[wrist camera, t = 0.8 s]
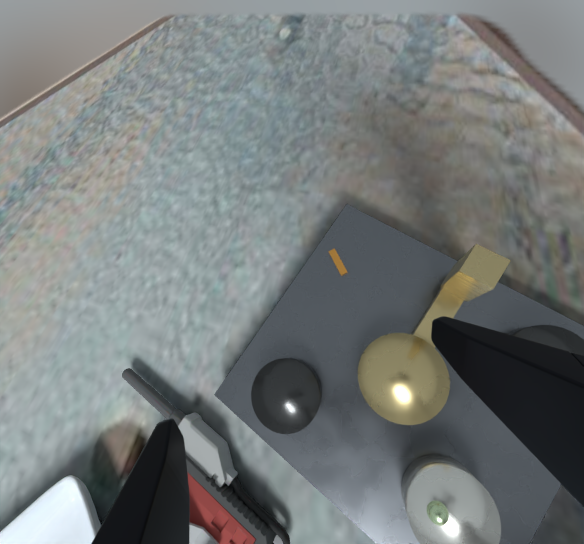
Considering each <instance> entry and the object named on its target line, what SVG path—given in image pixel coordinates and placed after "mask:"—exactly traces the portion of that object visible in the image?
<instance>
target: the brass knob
mask: <svg viewBox="0 0 584 544" xmlns="http://www.w3.org/2000/svg"><path fill="white" fill-rule="evenodd" d="M510 261H511V260H509V259H507V258H504V257H502V256H500V255H498V254H496V253H494V252H492V251H490V250H488V249H486V248H484V247H482V246H480V245H478V244H476V245H475V246H473V247H472V248H471V249H470V250H469V251H468V252H467V253H466V254H465V255H464V256H463V257H462V258H461V259H460V260H459V261H458V262H456V263H455V264H454V266H453V267H452V269H451V270H450V272H449V274H448V275H447V277H446V278H445V280H444V281H443V283H442V285H441V286H440V287H441V288H440V290H439V292H438V293H437V295H436V296H435V298H434V300H433V301H432V303H431V304H430V306H429V307H428V309H427V311H426V312H425V314H424V315H423V317H422V319H421V320H420V322H419V323H418V325H417V326H416V328H415V330H414V331H413V333H412V334H406V333H391V334H387V335H384V336H381V337H379V338H377V339H376V340H374V341H373V342H372V343H371V344H370V345H369V346H368V347H367V348H366V349H365V350H364V352H363V354H362V356H361V358H360V361H359V365H358V382H359V386H360V390H361V392H362V395H363V397H364V398H365V400H366V402H367V403H368V404H369V406H370V407H371V408H372V409H373V410H374V411H375V412H376V413H377V414H379V415H380V416H381V417H383V418H385V419H387V420H389V421H391V422H394V423H397V424H401V425H416V424H421V423H424V422H426V421H428V420H430V419H432V418H433V417H435V416H436V415H437V414H438V413H439V412H440V411H441V410H442V408H443V407H444V405H445V403H446V401H447V398H448V395H449V390H450V378H449V373H448V369H447V367H446V364H445V362H444V360H443V358H442V357H441V355H440V354H439V353H438V351H437V350H436V349H435V347H436V346H435V345H434V344H433V342H432V339H431V331H432V322H433V320H434V319H436V318H439V317H442V316H446V317H450V318H453V317H454V316H455V314H456V313H457V311H458V309H459V308H460V306H461V305H462V303H463V301H466V302H468V301H470V300H472V299H474V298H476V297H478V296H480V295H482V294H484V293H486V292H488V291H490V290H492V289H494V287H495V286H496V284H497V282H498V281H499V279H500V277H501V276H502V274H503V272H504V271H505V269H506V268H507V266H508V264H509V263H510Z"/></svg>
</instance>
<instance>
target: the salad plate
mask: <svg viewBox="0 0 584 544" xmlns="http://www.w3.org/2000/svg"><path fill="white" fill-rule="evenodd" d="M100 527H101V525H100V522H99V519H98V515H97V512H96V509H95V506H94V503H93V500H92V498H91V495H90V493H89V491H88V489H87V487H86V486H85V484H84V483H83V482H82V481H81V480H80V479H79V478H77V477H76V476H73V475H69V476H66V477H64V478H62V479H61V480H60V481H58V482H57V483H56V484H54V485H53V486H52V487H51V488H49V489H48V490H47V491H46V492H45V493H43V494H42V495H41V496H40V497H39V498H38V499H36V500H35V501H34V502H33V503H32V504H31V505H30V506H29V507H27V508H26V509H25V510H24V511H23V512H22V513H21V514H20V515H18V516H17V517H16V518H15V519H14V520H13V521H12V522H11V523H9V524H8V525H7V526H6V527H5V528H4V529H3V530H2V531H0V544H91V543H92V542H93V540H94V538H95V536H96V534H97V532H98V531H99V529H100Z"/></svg>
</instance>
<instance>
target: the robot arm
mask: <svg viewBox="0 0 584 544" xmlns="http://www.w3.org/2000/svg"><path fill="white" fill-rule="evenodd" d="M431 339H432V342H433V344H434V345H435V346H436V348H437V349H438V350H439V351H440V353H441V354H442V355H443V357H444V358H445V359H446V360H447V362H448V363H449V364H450V365H451V367H452V368H453V369H454V371H455V372H456V373H457V374H458V375H459V377H460V378H461V379H462V380H463V381H464V382H465V383H466V385H467V386H468V387H469V388H470V389H471V390H472V391H473V392H474V393H475V394H476V395H477V396H478V397H479V398H480V399H481V400H482V401H483V402H484V404H485V405H486V406H487V407H488V408H489V409H490V410H491V411H492V412H493V413H494V414H495V415H496V416H497V417H498V418H499V419H500V420H501V421H502V422H503V423H504V425H505V426H506V427H507V428H508V429H509V430H510V431H511V432H512V433H513V434H514V435H515V436H516V437H517V438H518V439H519V440H520V441H521V442H522V443H523V444H524V446H525V447H526V448H527V449H528V450H529V451H530V452H531V453H532V454H533V455H534V456H535V457H536V458H537V459H538V460H539V461H540V462H541V463H542V464H543V465H544V467H545V468H546V469H547V470H548V471H549V472H550V473H551V474H552V475H553V476H554V477H555V478H556V479H557V480H558V481H559V482H560V483H561V484H562V485H563V486H564V488H565V489H566V490H567V491H568V492H569V493H570V494H571V495H572V496H573V497H574V498H575V499H576V500H577V501H578V502H579V503H580V504H581V505H582V506H583V508H584V356H583V355H580V354H576V353H570V352H569V351H566V350H562V349H559V348H555V347H552V346H548V345H545V344H541V343H537V342H534V341H530V340H527V339H523V338H520V337H516V336H513V335H509V334H506V333H502V332H499V331H495V330H492V329H488V328H485V327H481V326H478V325H474V324H471V323H467V322H464V321H460V320H457V319H453V318H450V317H446V316H442V317H439V318H436V319H434V320H433V322H432V331H431ZM189 530H190V496H189V484H188V473H187V463H186V453H185V443H184V438H183V435H182V433H181V431H180V429H179V427H178V425H177V424H176V422H175V420H174V419H173V418H170V419H167V420H164V421H162V422H159V423H158V424H157V425H156V427H155V429H154V431H153V433H152V434H151V436H150V438H149V440H148V442H147V444H146V445H145V447H144V449H143V451H142V453H141V454H140V456H139V458H138V460H137V462H136V463H135V465H134V467H133V469H132V471H131V473H130V474H129V476H128V478H127V480H126V482H125V483H124V485H123V487H122V489H121V491H120V493H119V494H118V496H117V498H116V500H115V502H114V503H113V505H112V507H111V509H110V511H109V512H108V514H107V516H106V518H105V520H104V522H103V523H102V525H101V527H100V529H99V531H98V532H97V534H96V536H95V538H94V540H93V542H92V543H91V544H189Z"/></svg>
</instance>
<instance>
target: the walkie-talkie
mask: <svg viewBox="0 0 584 544" xmlns="http://www.w3.org/2000/svg"><path fill="white" fill-rule="evenodd" d="M122 377H123V378H124V379H125V380H126V381H127V382H128V383H129V384H130V385H131V386H132V387H133V388H134V389H135V390H136V391H138V392H139V393H140V394H141V395H142V396H143V397H144V398H145V399H146V400H147V401H148V402H149V403H150V404H151V405H152V406H154V407H155V408H156V409H157V410H158V411H159V412H160V413H161V414H162V415H163V416H164V417H165V418H166V419H170V418H173V419H174V420H175V422H176V424H177V425H178V427H179V429H180V431H181V433H182V435H183V438H184V443H185V453H186V463H187V473H188V484H189V496H190V530H189V544H274V543H273V541H274V538H275V536H276V534H278V535H279V536H280V538H281V539H282V541H283V544H290V538H289V535H288V534H287V532H286V530H285V529H284V528H283V527H282V526H281V525H280V524H279V523H278V522H277V521H276V520H275V519H274V518H273V517H272V516H270V514H269V513H267V512H266V511H265V510H264V509H263V508H262V507H261V506H260V505H259V504H258V503H256V502H255V501H254V499H253V498H251V497H250V496H249V495H248V494H247V493H246V492H245V491H244V490H243V488H242V486H241V483H240V481H239V480H238V479H237V477H236V476H237V475H238V472H237V471H235V470H234V466H233V462H232V458H231V454H230V450H229V446H228V443H227V442H226V441H225V440H224V439H223V438H222V437H221V436H220V435H219V434H217V433H216V432H215V431H214V430H213V429H212V428H211V427H210V426H208V425H207V424H206V423H205V422H204V421H203V420H202V417H201V416H200V415H199V414H198V413H196V412H194V413H192V414H189V415H185V414H184V413H183V412H182V411H181V410H180V409H176V408H175V407H174V406H173V405H171V404H170V403H169V402H168V401H167V400H166V399H165V398H164V397H163V396H162V395H160V394H159V393H158V392H157V391H156V390H155V389H154V388H153V387H152V386H150V385H149V384H147V383H146V382H145V381H144V380H143V379H142V378H141V377H140V376H139V375H137V374H136V373H135V372H134V371H133V370H132V369H130V368H128V369H126V370H124V371H123V373H122Z"/></svg>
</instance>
